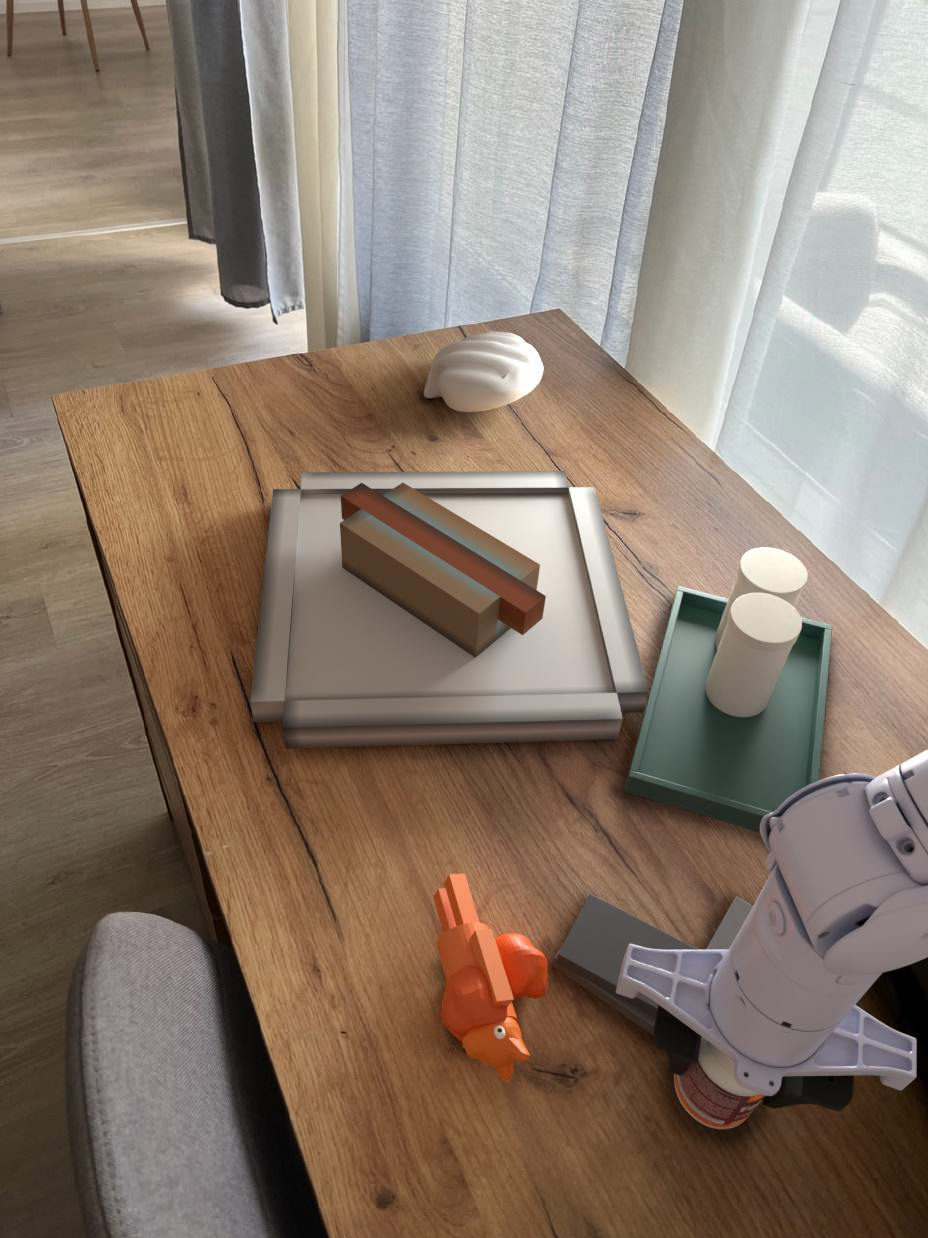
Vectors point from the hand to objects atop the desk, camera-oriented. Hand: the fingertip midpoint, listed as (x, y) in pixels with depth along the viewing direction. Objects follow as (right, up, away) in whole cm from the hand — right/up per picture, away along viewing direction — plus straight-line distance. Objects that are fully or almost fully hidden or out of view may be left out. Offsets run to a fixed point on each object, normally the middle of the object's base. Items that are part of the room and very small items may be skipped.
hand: (722, 1072), depth 54 cm
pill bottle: (0, -2, +2) cm, 3 cm away
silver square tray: (-17, +27, +28) cm, 42 cm away
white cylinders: (+8, +22, +24) cm, 33 cm away
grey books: (0, +3, +7) cm, 7 cm away
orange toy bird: (-13, +3, +5) cm, 15 cm away
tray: (+7, +19, +22) cm, 29 cm away
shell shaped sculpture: (-13, +50, +51) cm, 73 cm away
